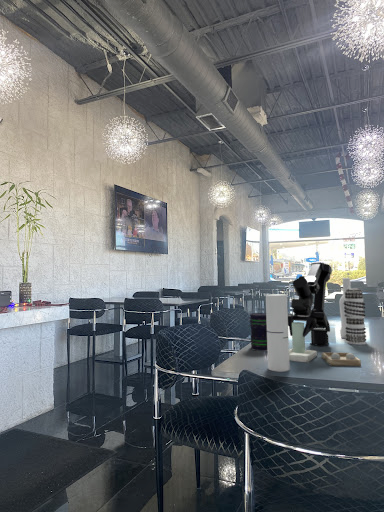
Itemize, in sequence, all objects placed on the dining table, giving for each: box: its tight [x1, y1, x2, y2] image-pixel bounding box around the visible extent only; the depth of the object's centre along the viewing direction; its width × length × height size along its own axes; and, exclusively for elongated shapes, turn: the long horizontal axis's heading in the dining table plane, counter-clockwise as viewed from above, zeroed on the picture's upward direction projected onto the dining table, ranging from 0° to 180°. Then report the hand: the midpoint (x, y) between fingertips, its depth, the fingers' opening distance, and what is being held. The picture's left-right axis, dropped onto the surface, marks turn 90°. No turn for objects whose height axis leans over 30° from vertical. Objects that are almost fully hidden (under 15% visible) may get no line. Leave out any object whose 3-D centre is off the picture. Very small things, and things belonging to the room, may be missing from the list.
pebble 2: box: [346, 352, 356, 360], centre depth 122 cm, size 3×3×3 cm
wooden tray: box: [321, 352, 362, 367], centre depth 126 cm, size 12×10×2 cm
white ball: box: [331, 352, 340, 359], centre depth 123 cm, size 3×3×3 cm
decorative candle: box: [343, 288, 367, 346], centre depth 161 cm, size 9×9×25 cm
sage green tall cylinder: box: [291, 321, 306, 353], centre depth 134 cm, size 5×5×11 cm
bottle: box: [338, 277, 352, 340], centre depth 175 cm, size 8×8×30 cm
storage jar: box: [249, 312, 267, 352], centre depth 153 cm, size 10×10×15 cm
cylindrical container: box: [265, 293, 291, 373], centre depth 119 cm, size 7×7×25 cm
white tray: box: [289, 347, 318, 364], centre depth 133 cm, size 12×10×2 cm
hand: (297, 335), depth 133 cm, fingers closed on sage green tall cylinder, 4 cm apart
